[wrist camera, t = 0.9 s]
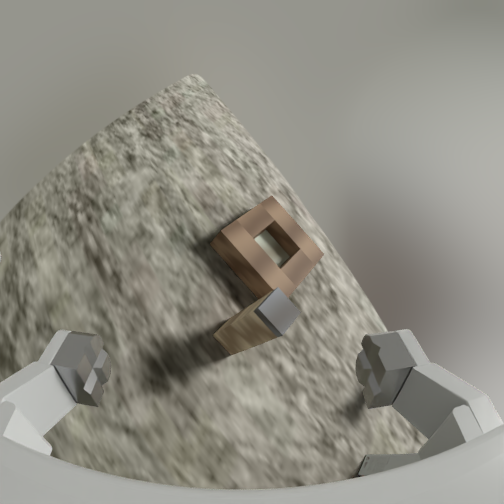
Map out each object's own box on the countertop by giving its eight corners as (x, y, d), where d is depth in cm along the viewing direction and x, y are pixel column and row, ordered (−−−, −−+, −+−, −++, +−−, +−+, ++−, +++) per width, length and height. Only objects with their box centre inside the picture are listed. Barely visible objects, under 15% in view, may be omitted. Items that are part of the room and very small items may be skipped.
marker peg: (212, 335, 38) (258, 308, 28) (229, 318, 40) (278, 286, 31) (231, 355, 37) (282, 335, 28) (247, 337, 40) (300, 312, 31)
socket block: (209, 244, 44) (220, 230, 41) (259, 208, 52) (271, 195, 49) (269, 310, 43) (284, 302, 40) (309, 264, 52) (324, 254, 49)
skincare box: (356, 475, 36) (416, 477, 27) (365, 453, 39) (425, 451, 30) (375, 483, 37) (432, 485, 27) (383, 463, 39) (439, 461, 30)
